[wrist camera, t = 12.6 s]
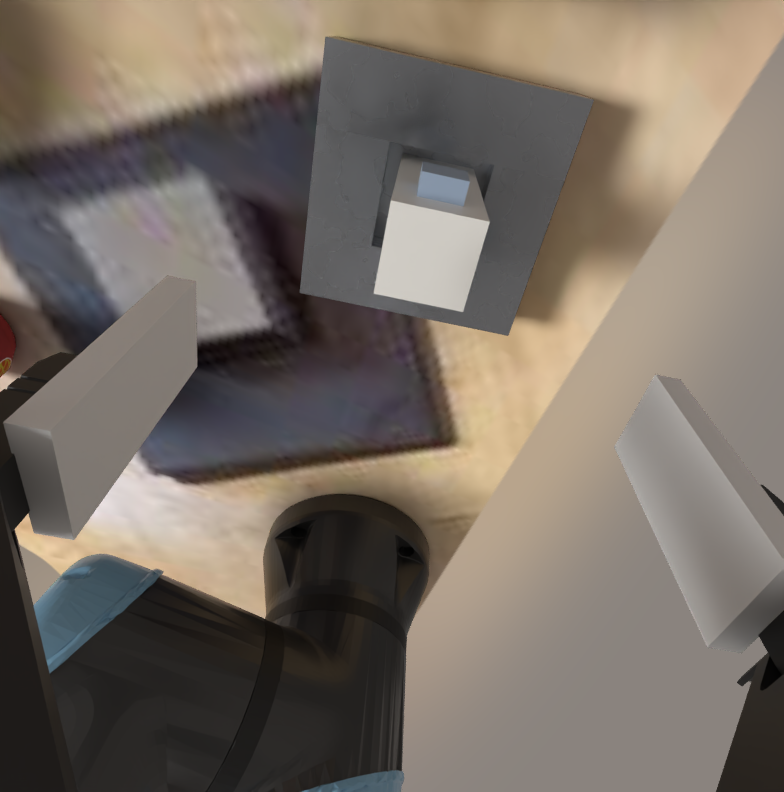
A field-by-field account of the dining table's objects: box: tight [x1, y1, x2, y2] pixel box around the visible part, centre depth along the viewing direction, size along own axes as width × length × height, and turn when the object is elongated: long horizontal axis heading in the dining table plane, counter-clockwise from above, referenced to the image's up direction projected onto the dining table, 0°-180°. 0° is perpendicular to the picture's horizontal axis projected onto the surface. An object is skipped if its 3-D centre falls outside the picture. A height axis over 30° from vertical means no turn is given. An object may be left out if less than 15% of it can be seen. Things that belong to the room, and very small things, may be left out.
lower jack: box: [300, 36, 594, 336], centre depth 30 cm, size 13×13×3 cm
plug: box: [374, 153, 490, 312], centre depth 26 cm, size 5×4×10 cm
